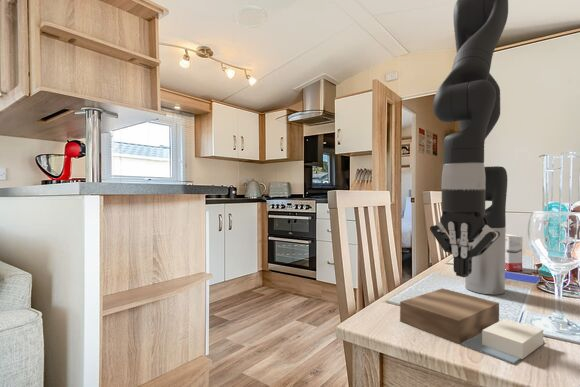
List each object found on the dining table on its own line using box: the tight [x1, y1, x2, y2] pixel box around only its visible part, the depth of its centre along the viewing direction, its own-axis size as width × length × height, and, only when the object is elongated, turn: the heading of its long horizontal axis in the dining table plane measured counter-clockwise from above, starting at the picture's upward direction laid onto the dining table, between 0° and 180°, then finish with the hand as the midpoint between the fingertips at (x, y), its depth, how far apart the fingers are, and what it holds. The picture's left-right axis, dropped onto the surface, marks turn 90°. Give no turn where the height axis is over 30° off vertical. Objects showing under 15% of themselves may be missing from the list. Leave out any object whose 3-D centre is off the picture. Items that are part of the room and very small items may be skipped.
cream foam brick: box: [482, 318, 544, 360], centre depth 57 cm, size 9×6×2 cm, turn 126°
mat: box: [461, 332, 545, 365], centre depth 58 cm, size 13×8×1 cm, turn 126°
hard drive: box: [505, 271, 541, 286], centre depth 101 cm, size 2×8×12 cm
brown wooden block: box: [399, 287, 500, 344], centre depth 67 cm, size 16×12×4 cm
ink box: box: [505, 233, 523, 272], centre depth 114 cm, size 9×5×12 cm, turn 179°
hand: (462, 275), depth 65 cm, fingers closed
